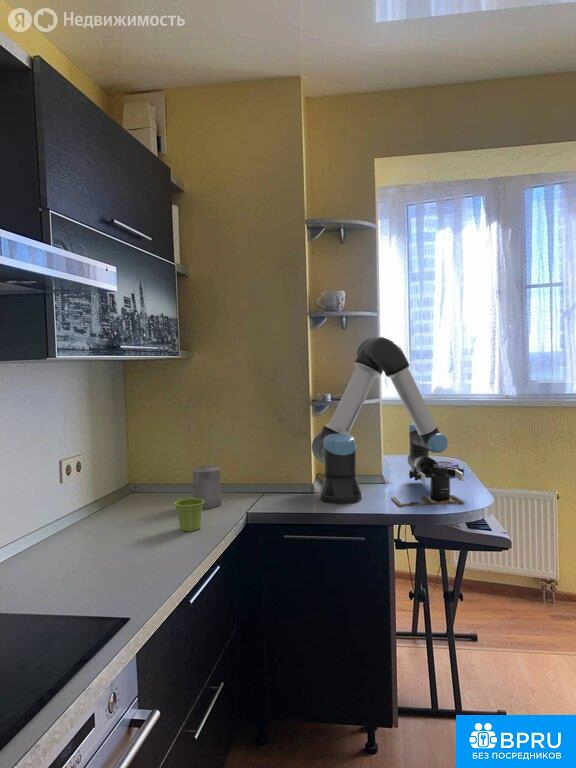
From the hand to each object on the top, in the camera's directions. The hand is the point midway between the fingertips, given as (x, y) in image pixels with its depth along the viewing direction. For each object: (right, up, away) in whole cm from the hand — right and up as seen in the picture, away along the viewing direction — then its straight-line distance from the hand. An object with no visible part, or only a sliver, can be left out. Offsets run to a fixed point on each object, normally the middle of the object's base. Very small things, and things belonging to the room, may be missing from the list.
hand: (443, 478), depth 205 cm
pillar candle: (-84, -11, +7) cm, 85 cm away
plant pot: (-86, -13, -21) cm, 89 cm away
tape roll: (+13, -6, +47) cm, 50 cm away
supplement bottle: (0, -9, +4) cm, 9 cm away
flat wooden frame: (-5, -9, +3) cm, 11 cm away
